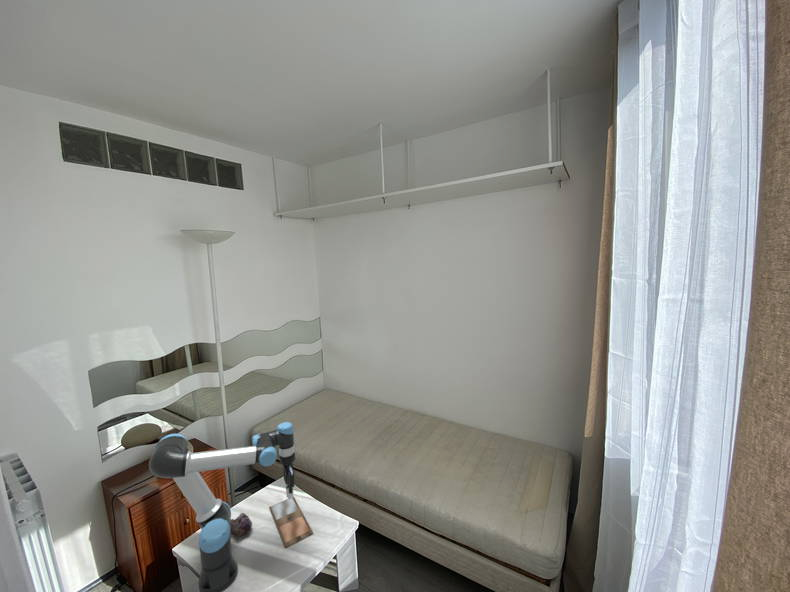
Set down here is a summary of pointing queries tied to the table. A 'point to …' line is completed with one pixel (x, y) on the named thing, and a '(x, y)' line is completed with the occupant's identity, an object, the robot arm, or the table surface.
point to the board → (290, 522)
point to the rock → (240, 524)
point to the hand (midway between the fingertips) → (290, 497)
